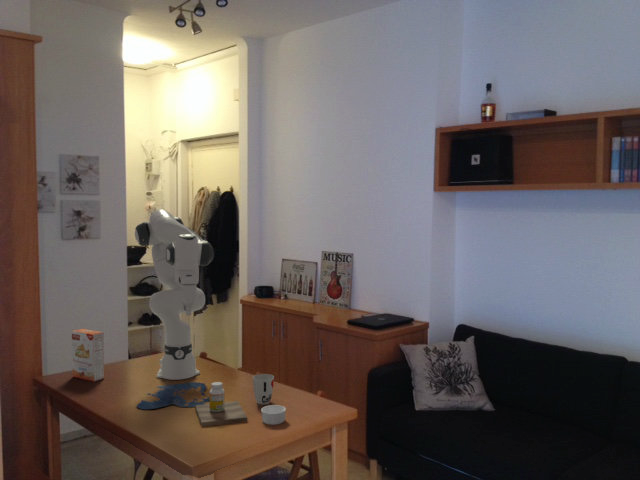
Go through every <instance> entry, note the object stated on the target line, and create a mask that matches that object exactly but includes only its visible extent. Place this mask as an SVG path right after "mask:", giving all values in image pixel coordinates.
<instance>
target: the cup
mask: <svg viewBox="0 0 640 480" xmlns="http://www.w3.org/2000/svg"><path fill="white" fill-rule="evenodd" d="M274 379H275V375H273V374H268V373H260V374H256V375H255V374H254V375H253V376H252V383H253V384H252V385H253V386H252V387H253V393H254V398H255V402H256V404H258V405H270V404H271V403H270V402H271V400H272V396H273V392H274V381H275V380H274Z"/></svg>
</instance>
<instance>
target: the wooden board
mask: <svg viewBox="0 0 640 480" xmlns="http://www.w3.org/2000/svg"><path fill="white" fill-rule="evenodd" d="M203 404H204V403H203ZM224 404H225V407H224V410H223V411H220V412H213V411H210V403H205V404H204V405H195V407H194V409H195V412H196V415H197V417H198V421H199V423H200V426H201V427H210V426H219V425H227V424H228V425H229V424H236V423H238V424H239V423H247V422H248V415H247V414H246V412H245V411H244V409H243V407H242V405H241V404H240V403H239V401H238V400H235V401H234V400H233V401H224Z"/></svg>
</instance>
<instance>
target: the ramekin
mask: <svg viewBox="0 0 640 480" xmlns="http://www.w3.org/2000/svg"><path fill="white" fill-rule="evenodd" d="M286 411H287V409H286V406H283V405H279V404H271V405H270V404H268V405H265V406H263V407H262V408H261V409H260V413H261V417H262V418H261V420H262V422H263V423H264V424H266V425H275V426H276V425H280V424H282V423H284V422H285V420H286Z"/></svg>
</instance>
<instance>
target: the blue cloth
mask: <svg viewBox="0 0 640 480" xmlns="http://www.w3.org/2000/svg"><path fill="white" fill-rule="evenodd" d="M156 388H157V389H159V390H158V391H157V392H154V393H155V394H153V393H151V392H149V393H147V394H146V395H147V396H148V395H149V396H151V397H156V398H158V399H159V400H153V401H147V400H144V399H141V402H139V403H137V405H136V407H137V408H138V409H140V410H153V409H154V410H155V409H160V408H163V407H168V406H170V405H176V406H177V407H180V408H195V405H204V404H208V403H210V396H207V395H206V394H205V393H204V392H205V390H206V389H207V388H208V387H207V386H206V383H203V382H197V381H195V382H194V381H192V382H184V383H177V384H176V383H175V384H168V385H167V384H166V385H161V386H156ZM198 388H200V390H199V392H200V394H201V395H202V396H203V397H206V398H202V397H201V398H199V399H197V398H193V400H192V401H187V400H186V399H184V398H183V397H184V395H185V394H186V392H187V391H190V390H192V389H195V390H196V389H198ZM183 390H184V391H183ZM195 390H194V392H196V391H195ZM182 391H183V392H182ZM185 391H186V392H185ZM183 394H184V395H183ZM199 400H202V401H199Z"/></svg>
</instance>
